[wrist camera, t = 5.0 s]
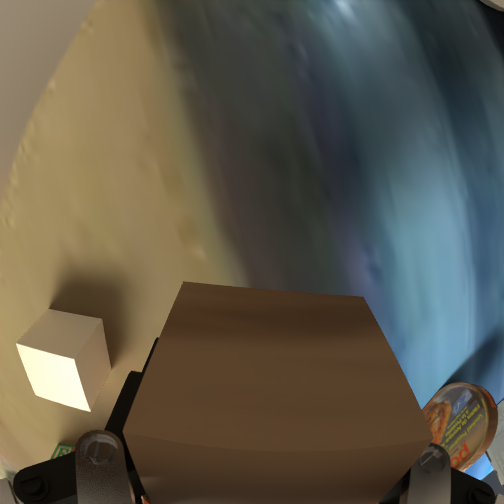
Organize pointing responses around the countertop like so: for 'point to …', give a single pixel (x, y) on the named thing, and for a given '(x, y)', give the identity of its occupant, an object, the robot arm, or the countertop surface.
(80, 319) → the off-white cube
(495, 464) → the candy box
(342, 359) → the walnut cube
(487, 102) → the countertop surface
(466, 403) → the tin
